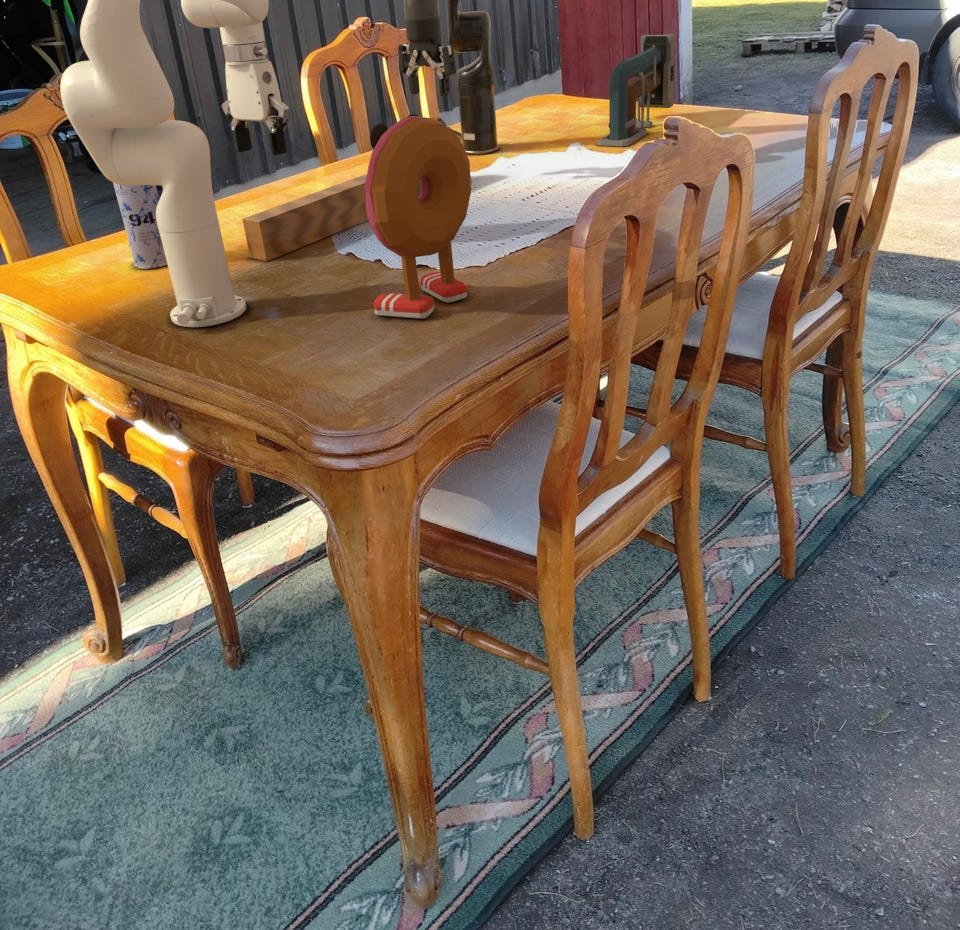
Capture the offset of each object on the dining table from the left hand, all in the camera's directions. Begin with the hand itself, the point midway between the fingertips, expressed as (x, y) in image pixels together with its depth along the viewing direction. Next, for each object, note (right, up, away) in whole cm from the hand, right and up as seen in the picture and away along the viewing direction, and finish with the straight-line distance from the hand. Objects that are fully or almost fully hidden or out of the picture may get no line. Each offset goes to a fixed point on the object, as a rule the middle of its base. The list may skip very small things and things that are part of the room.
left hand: (262, 152), depth 182 cm
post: (+17, -5, +27) cm, 32 cm away
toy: (+32, -32, -21) cm, 50 cm away
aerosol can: (-24, -19, +10) cm, 32 cm away
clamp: (+83, +31, +78) cm, 118 cm away
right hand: (+30, +24, +33) cm, 51 cm away
